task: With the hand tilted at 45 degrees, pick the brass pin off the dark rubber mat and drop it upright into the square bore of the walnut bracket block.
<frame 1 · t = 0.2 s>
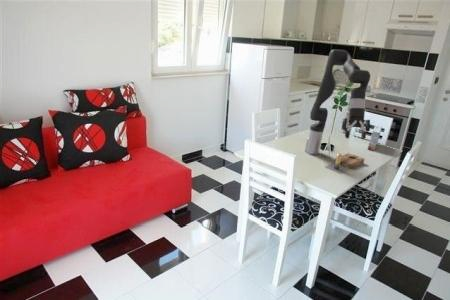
hand: (355, 138, 168), 31 cm above the table, tool tilted 20°, fingers open, 8 cm apart
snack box: (372, 146, 254), on the table
brass pin: (336, 168, 206), resting on rubber mat
bracket block: (349, 163, 217), on the table
rubber mat: (336, 169, 206), on the table
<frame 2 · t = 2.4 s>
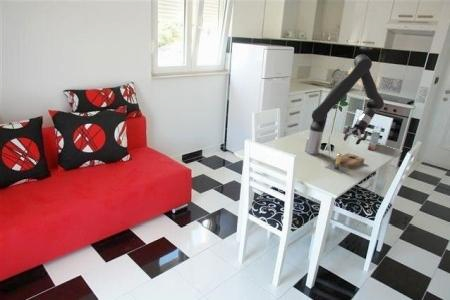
hand: (350, 141, 207), 17 cm above the table, tool tilted 45°, fingers open, 8 cm apart
nothing on the table moved.
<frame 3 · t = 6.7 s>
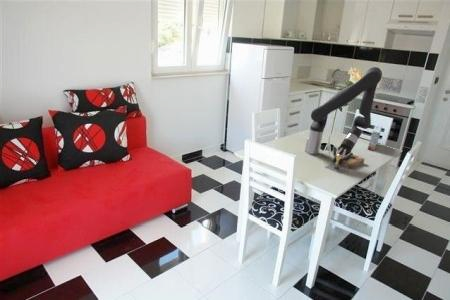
hand: (336, 163, 203), 5 cm above the table, tool tilted 45°, fingers closed on brass pin, 3 cm apart
brass pin: (336, 168, 206), resting on rubber mat, touching gripper
everything else where it was.
when the fingers open (6 cm above the table, at t = 13.4 s): brass pin drops 2 cm, resting in bracket block.
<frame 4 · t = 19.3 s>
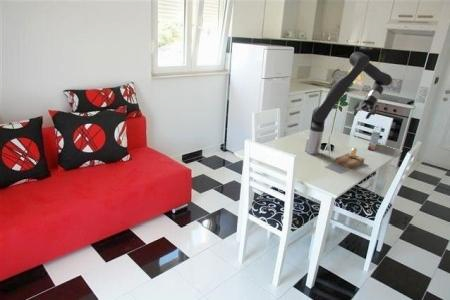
hand: (360, 116, 215), 31 cm above the table, tool tilted 45°, fingers open, 8 cm apart
brass pin: (351, 162, 219), resting in bracket block
everything else where it was.
at the end: brass pin 0.0 cm from the target spot on the bracket block, point 0.0 cm above the bracket block's base; brass pin tilted 0°; the gripper is holding nothing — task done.
